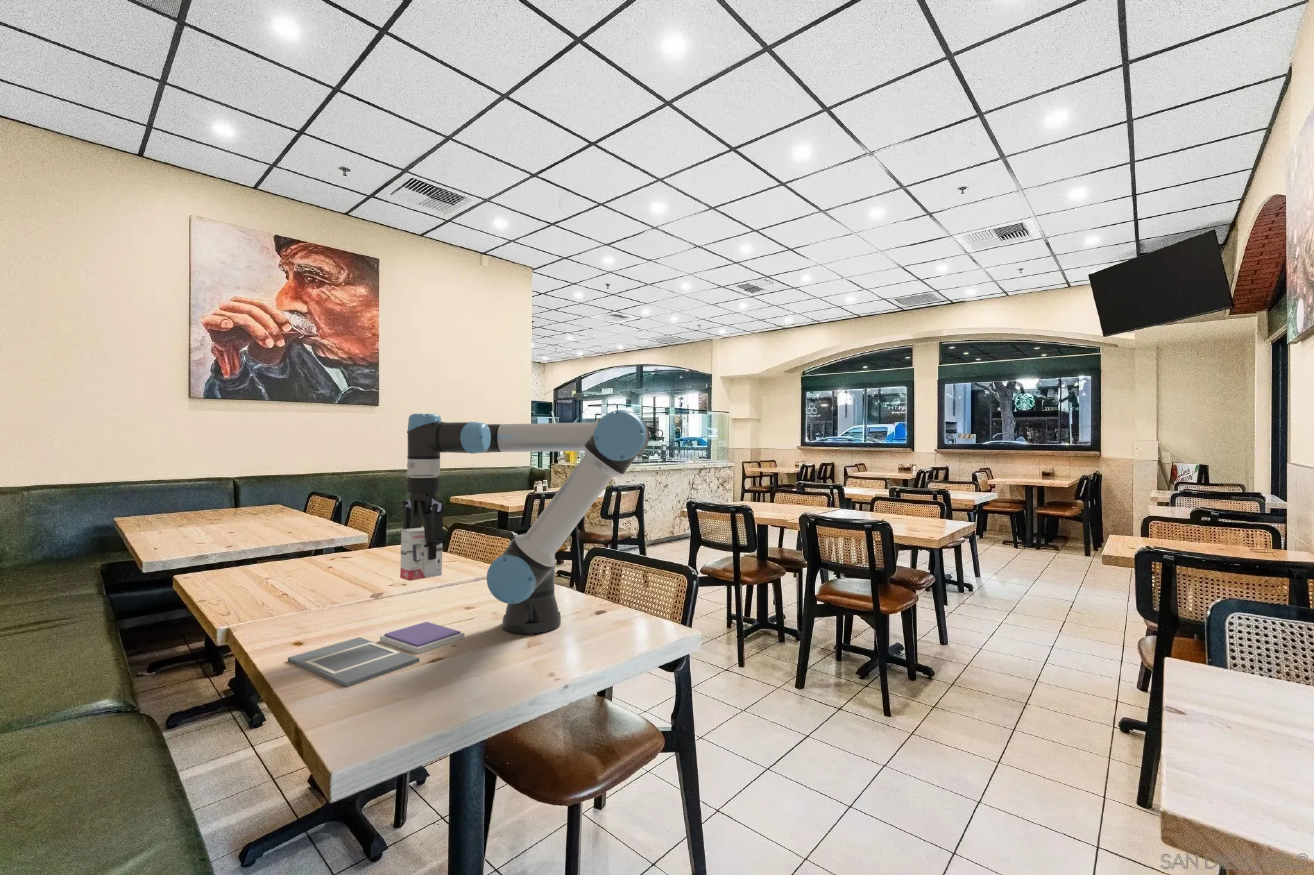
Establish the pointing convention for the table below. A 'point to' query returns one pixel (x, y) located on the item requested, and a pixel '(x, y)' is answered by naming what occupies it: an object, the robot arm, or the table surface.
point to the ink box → (416, 555)
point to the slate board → (353, 661)
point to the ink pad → (421, 637)
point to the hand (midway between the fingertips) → (421, 570)
